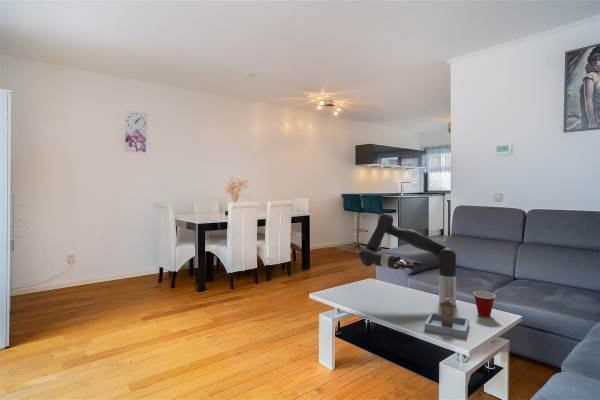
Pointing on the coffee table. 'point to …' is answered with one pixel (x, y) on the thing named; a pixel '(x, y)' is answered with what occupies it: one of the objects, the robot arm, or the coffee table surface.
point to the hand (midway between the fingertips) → (417, 265)
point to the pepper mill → (447, 313)
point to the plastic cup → (484, 302)
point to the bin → (457, 330)
